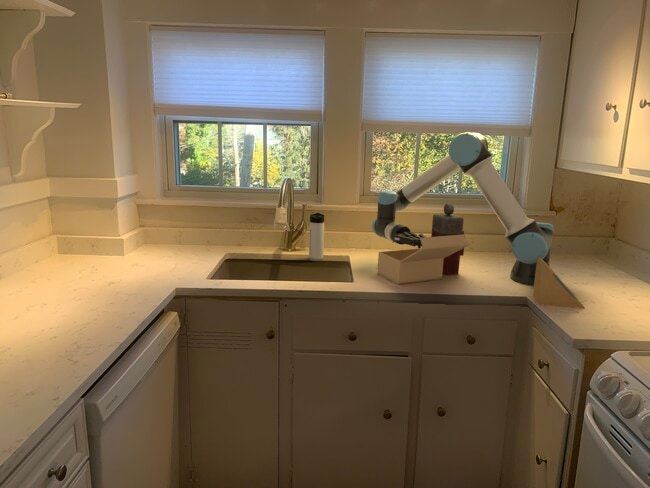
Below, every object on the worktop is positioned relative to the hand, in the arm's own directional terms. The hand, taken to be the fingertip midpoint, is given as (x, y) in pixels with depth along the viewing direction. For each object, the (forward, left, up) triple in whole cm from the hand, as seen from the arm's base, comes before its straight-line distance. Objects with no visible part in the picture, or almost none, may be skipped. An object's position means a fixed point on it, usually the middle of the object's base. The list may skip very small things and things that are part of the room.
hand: (434, 247), depth 177 cm
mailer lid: (+3, -1, +1) cm, 3 cm away
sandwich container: (-31, -30, -16) cm, 46 cm away
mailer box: (+15, -2, -15) cm, 21 cm away
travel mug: (+53, +18, -16) cm, 58 cm away
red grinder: (+14, -21, -16) cm, 29 cm away
